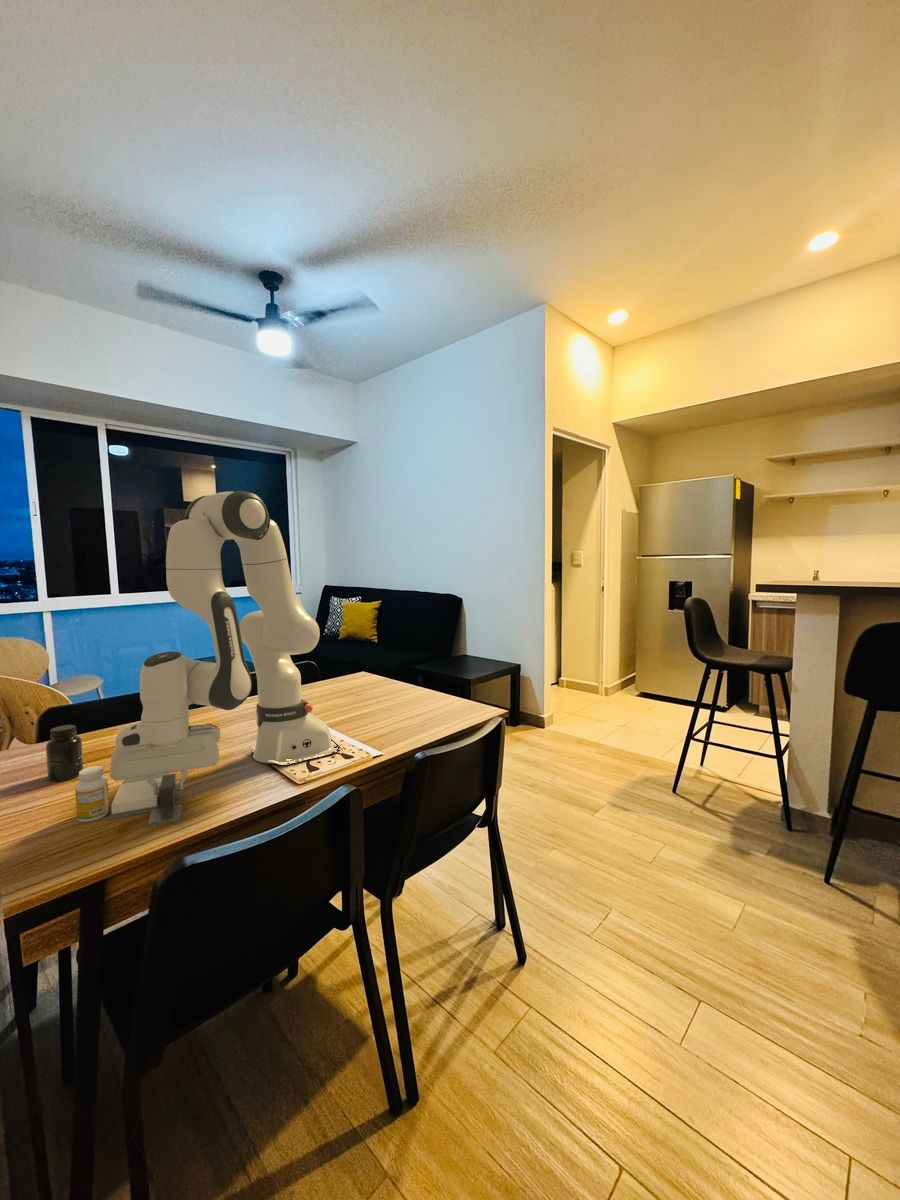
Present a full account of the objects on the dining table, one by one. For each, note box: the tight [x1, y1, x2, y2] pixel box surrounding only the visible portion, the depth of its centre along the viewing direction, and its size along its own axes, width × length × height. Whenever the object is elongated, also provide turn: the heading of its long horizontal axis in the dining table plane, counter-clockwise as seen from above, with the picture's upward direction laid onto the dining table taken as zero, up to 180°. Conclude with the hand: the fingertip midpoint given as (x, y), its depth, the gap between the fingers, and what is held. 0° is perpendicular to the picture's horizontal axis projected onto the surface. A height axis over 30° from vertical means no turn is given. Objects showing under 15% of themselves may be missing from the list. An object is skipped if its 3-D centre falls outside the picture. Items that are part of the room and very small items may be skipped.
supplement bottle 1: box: [45, 724, 84, 782], centre depth 117 cm, size 7×7×12 cm
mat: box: [107, 773, 170, 820], centre depth 108 cm, size 9×19×1 cm, turn 25°
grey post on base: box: [147, 773, 183, 827], centre depth 102 cm, size 12×6×5 cm, turn 25°
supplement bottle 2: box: [74, 765, 110, 823], centre depth 99 cm, size 5×5×10 cm
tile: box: [111, 778, 162, 815], centre depth 105 cm, size 8×2×10 cm
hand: (168, 791), depth 104 cm, fingers open, 3 cm apart
